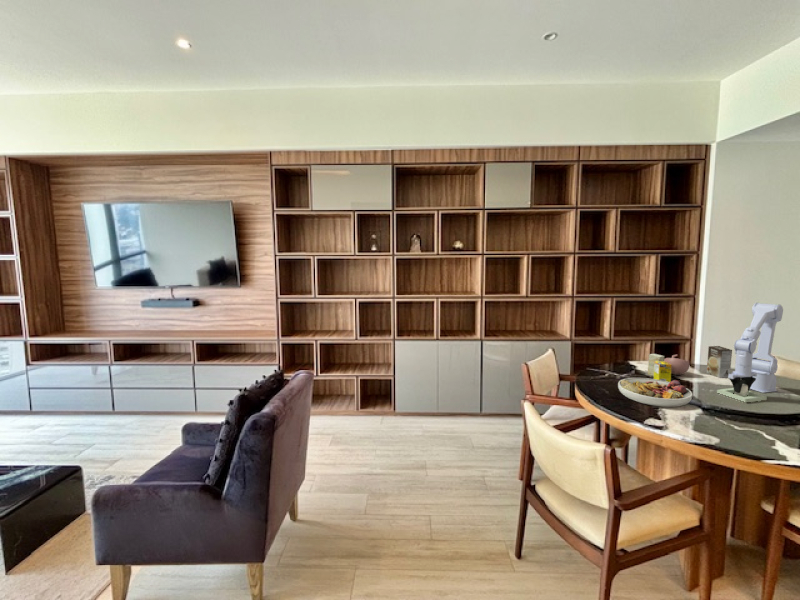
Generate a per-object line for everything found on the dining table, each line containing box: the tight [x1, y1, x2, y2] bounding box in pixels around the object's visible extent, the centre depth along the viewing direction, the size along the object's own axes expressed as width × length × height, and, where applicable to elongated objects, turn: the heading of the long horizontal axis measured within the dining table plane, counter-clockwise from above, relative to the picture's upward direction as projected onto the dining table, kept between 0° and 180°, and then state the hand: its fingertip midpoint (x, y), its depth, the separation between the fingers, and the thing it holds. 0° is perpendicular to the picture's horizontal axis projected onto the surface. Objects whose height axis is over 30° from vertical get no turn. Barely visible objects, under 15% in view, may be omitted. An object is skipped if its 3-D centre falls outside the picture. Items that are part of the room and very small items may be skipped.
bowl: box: [617, 377, 693, 408], centre depth 181 cm, size 30×30×8 cm
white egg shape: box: [734, 384, 748, 397], centre depth 178 cm, size 5×5×5 cm
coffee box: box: [706, 345, 733, 379], centre depth 209 cm, size 9×6×16 cm
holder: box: [716, 387, 768, 402], centre depth 178 cm, size 13×13×2 cm
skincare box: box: [647, 353, 665, 377], centre depth 211 cm, size 6×4×12 cm
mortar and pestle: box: [664, 354, 690, 376], centre depth 213 cm, size 12×12×11 cm
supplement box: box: [653, 361, 672, 382], centre depth 201 cm, size 6×6×11 cm
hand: (741, 391), depth 178 cm, fingers closed on white egg shape, 4 cm apart
